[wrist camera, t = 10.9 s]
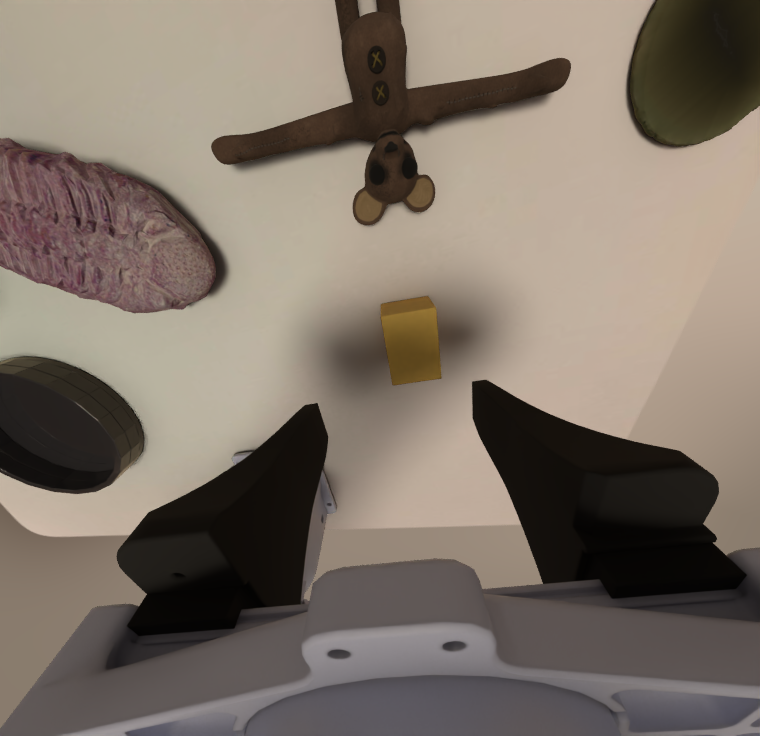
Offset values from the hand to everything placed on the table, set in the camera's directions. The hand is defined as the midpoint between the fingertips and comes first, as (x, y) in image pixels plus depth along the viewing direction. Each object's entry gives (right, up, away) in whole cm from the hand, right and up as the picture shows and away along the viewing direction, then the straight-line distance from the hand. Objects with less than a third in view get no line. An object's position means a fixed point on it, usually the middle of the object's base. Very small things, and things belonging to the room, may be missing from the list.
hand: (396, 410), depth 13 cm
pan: (-29, -3, +12) cm, 31 cm away
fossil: (-18, +11, +5) cm, 22 cm away
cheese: (+1, +5, +8) cm, 9 cm away
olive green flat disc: (+16, +18, 0) cm, 24 cm away
